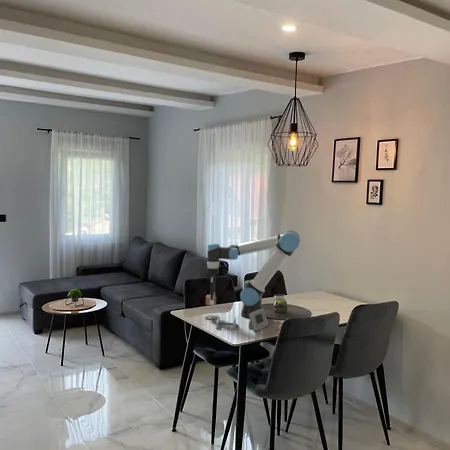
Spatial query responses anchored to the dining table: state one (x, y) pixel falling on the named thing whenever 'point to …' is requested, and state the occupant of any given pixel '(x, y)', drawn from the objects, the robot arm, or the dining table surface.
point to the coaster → (211, 317)
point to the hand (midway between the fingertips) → (212, 303)
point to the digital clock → (257, 320)
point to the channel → (226, 323)
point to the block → (209, 299)
